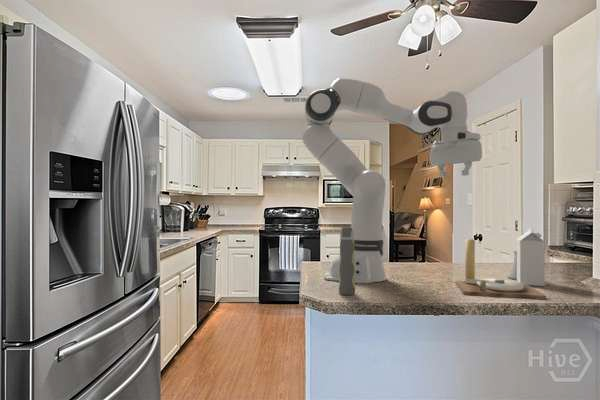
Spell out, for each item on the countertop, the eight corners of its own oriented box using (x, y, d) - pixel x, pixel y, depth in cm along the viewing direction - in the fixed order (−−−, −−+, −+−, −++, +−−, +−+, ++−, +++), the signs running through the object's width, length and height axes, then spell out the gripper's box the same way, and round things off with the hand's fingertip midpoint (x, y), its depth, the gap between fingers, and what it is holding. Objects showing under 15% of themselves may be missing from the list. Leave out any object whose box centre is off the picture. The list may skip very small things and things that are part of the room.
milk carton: (520, 285, 126) (520, 228, 126) (516, 281, 132) (516, 227, 133) (544, 287, 123) (544, 229, 123) (540, 282, 130) (539, 228, 130)
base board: (463, 294, 112) (463, 281, 112) (455, 283, 128) (455, 271, 128) (546, 299, 107) (546, 285, 107) (527, 287, 122) (527, 275, 122)
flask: (524, 277, 140) (524, 250, 140) (534, 281, 133) (534, 253, 133) (503, 276, 141) (503, 250, 141) (512, 280, 133) (512, 252, 134)
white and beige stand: (528, 286, 117) (528, 241, 118) (517, 293, 108) (516, 244, 108) (472, 278, 129) (472, 237, 129) (458, 284, 120) (458, 240, 120)
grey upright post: (355, 292, 114) (356, 227, 114) (354, 296, 109) (354, 228, 109) (340, 291, 115) (340, 226, 115) (337, 295, 110) (337, 227, 111)
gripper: (425, 141, 142) (425, 177, 142) (472, 132, 124) (472, 173, 124) (437, 142, 145) (437, 178, 145) (484, 134, 127) (485, 174, 126)
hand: (454, 176), depth 134 cm, fingers open, 8 cm apart
